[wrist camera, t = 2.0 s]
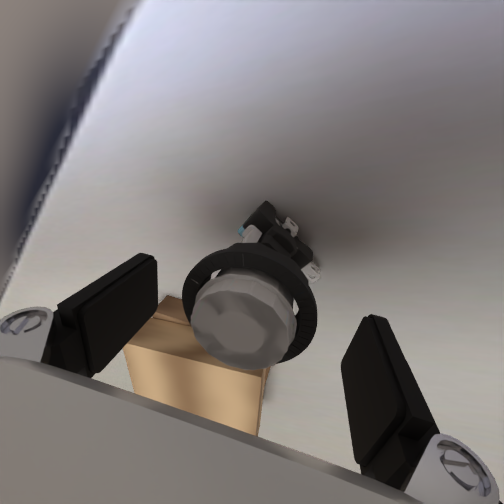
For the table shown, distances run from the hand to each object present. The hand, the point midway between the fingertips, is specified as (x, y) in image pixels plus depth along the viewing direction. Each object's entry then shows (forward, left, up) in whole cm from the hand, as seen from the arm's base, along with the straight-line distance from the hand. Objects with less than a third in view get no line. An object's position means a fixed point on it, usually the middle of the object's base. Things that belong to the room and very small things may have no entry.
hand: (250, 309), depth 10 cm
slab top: (+3, +14, -5) cm, 15 cm away
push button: (-1, 0, -8) cm, 8 cm away
